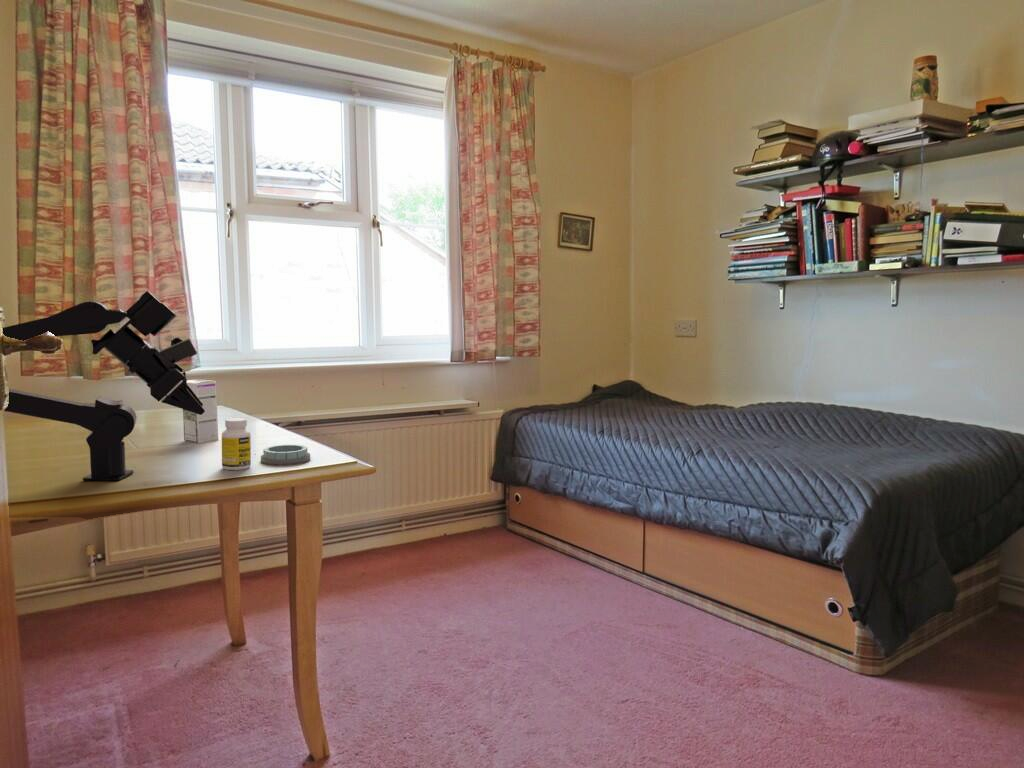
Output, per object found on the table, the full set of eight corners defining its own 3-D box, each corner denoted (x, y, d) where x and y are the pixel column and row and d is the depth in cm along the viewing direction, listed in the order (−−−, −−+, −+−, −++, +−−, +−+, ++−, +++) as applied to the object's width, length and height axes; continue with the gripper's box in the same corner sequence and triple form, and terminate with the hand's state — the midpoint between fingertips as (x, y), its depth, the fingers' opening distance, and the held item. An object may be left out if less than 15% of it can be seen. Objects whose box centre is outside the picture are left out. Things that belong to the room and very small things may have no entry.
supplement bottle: (241, 471, 140) (240, 422, 139) (216, 469, 141) (215, 420, 140) (256, 465, 146) (255, 418, 145) (232, 464, 147) (231, 416, 146)
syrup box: (219, 440, 172) (217, 380, 170) (197, 444, 167) (195, 382, 165) (204, 437, 175) (203, 378, 173) (182, 441, 170) (180, 380, 168)
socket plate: (304, 465, 146) (304, 453, 146) (254, 465, 146) (254, 453, 145) (314, 455, 156) (314, 444, 156) (267, 455, 156) (267, 444, 155)
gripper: (168, 325, 127) (236, 384, 133) (169, 322, 144) (229, 375, 150) (120, 370, 125) (191, 429, 131) (126, 362, 141) (189, 414, 147)
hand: (202, 409), depth 140 cm, fingers open, 9 cm apart
